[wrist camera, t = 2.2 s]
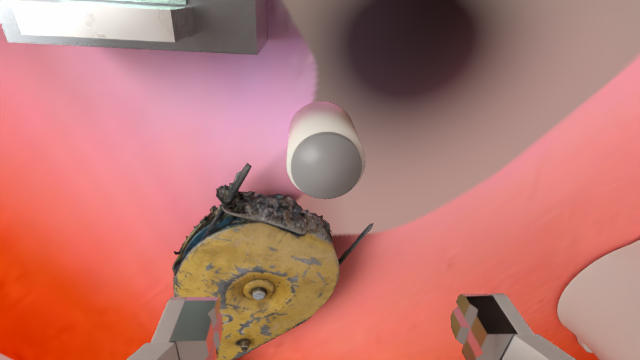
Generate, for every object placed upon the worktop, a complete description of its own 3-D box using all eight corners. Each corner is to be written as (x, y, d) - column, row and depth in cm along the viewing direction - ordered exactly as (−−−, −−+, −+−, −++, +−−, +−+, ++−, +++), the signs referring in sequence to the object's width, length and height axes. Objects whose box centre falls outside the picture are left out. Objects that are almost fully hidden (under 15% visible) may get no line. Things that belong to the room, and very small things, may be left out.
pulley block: (85, 413, 32) (234, 184, 20) (106, 353, 36) (236, 140, 25) (223, 423, 38) (395, 252, 27) (226, 371, 43) (373, 207, 31)
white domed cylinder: (356, 102, 25) (371, 132, 19) (350, 163, 27) (362, 203, 22) (289, 99, 24) (286, 129, 19) (288, 161, 27) (285, 202, 22)
